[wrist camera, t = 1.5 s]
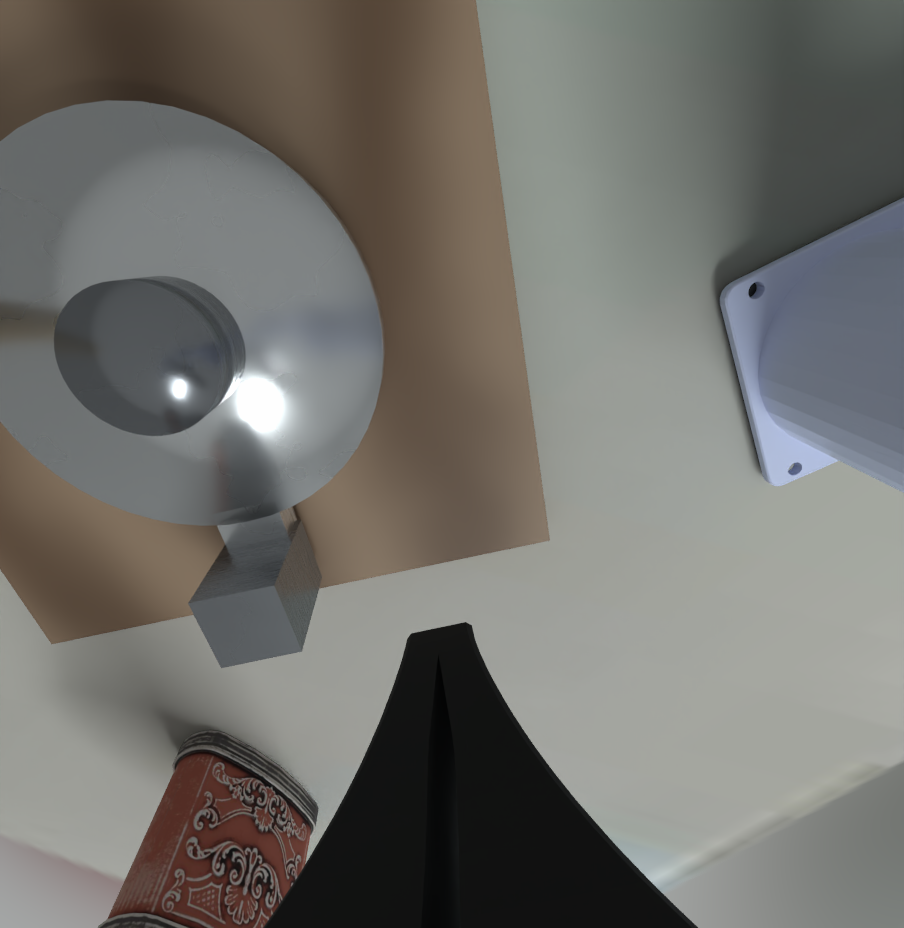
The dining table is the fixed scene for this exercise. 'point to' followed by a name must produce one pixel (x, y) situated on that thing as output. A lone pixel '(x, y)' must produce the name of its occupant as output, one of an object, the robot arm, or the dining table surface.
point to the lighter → (218, 841)
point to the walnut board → (383, 248)
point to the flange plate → (222, 239)
